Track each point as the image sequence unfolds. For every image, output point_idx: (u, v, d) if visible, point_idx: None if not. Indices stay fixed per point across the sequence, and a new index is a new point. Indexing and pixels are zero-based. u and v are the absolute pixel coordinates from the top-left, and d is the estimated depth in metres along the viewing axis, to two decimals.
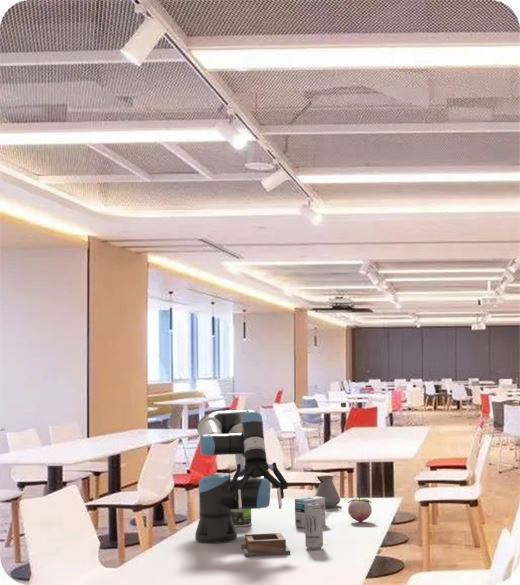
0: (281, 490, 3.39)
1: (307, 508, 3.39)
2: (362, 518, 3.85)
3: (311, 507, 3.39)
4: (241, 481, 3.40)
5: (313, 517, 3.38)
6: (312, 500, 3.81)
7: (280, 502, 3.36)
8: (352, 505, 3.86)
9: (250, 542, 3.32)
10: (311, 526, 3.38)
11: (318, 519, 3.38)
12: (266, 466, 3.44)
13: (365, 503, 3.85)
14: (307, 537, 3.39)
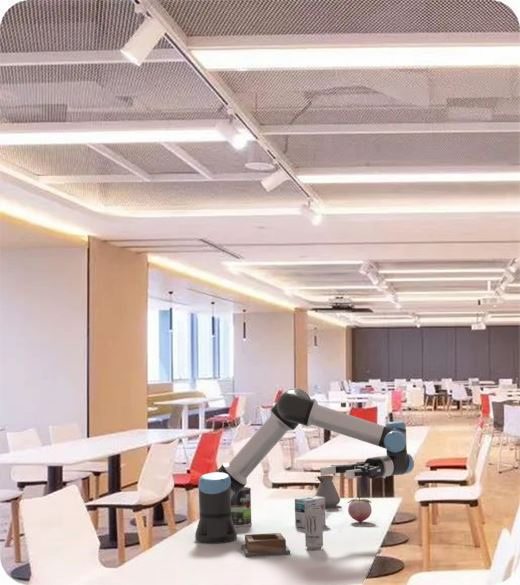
0: None
1: (307, 508, 3.39)
2: (362, 518, 3.85)
3: (311, 507, 3.39)
4: None
5: (313, 517, 3.38)
6: (312, 500, 3.81)
7: None
8: (352, 505, 3.86)
9: (250, 542, 3.32)
10: (311, 526, 3.38)
11: (318, 519, 3.38)
12: None
13: (365, 503, 3.85)
14: (307, 537, 3.39)
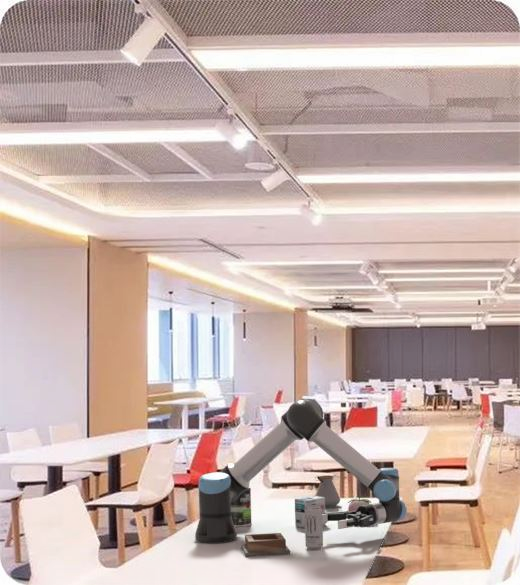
0: None
1: (307, 508, 3.39)
2: None
3: (311, 507, 3.39)
4: None
5: (313, 517, 3.38)
6: (312, 500, 3.81)
7: None
8: (352, 505, 3.86)
9: (250, 542, 3.32)
10: (311, 526, 3.38)
11: (318, 519, 3.38)
12: None
13: (365, 503, 3.85)
14: (307, 537, 3.39)
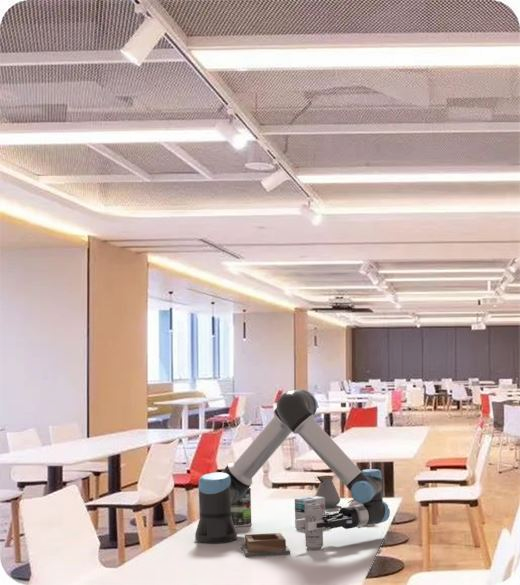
0: None
1: (307, 508, 3.39)
2: None
3: (311, 507, 3.39)
4: None
5: (313, 517, 3.38)
6: (312, 500, 3.81)
7: (298, 527, 3.41)
8: (352, 505, 3.86)
9: (250, 542, 3.32)
10: None
11: (318, 519, 3.38)
12: None
13: None
14: (307, 537, 3.39)
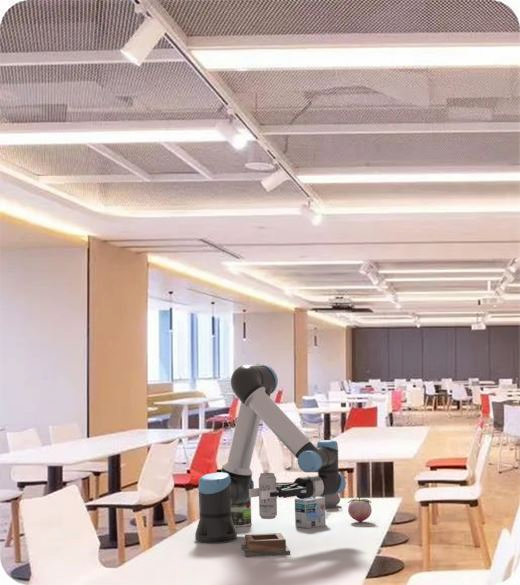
0: None
1: (261, 477, 3.38)
2: (362, 518, 3.85)
3: (265, 476, 3.37)
4: None
5: (267, 486, 3.36)
6: (312, 500, 3.81)
7: (252, 496, 3.39)
8: (352, 505, 3.86)
9: (250, 542, 3.32)
10: None
11: (272, 488, 3.37)
12: None
13: (365, 503, 3.85)
14: (260, 506, 3.37)
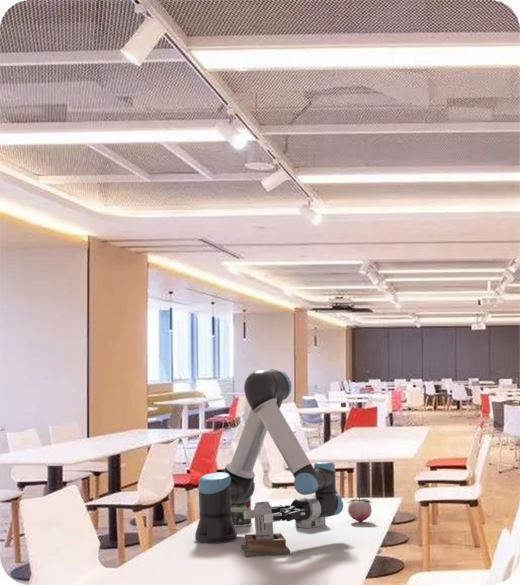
0: None
1: (256, 507, 3.37)
2: (362, 518, 3.85)
3: (260, 506, 3.37)
4: None
5: (262, 516, 3.36)
6: None
7: (247, 518, 3.41)
8: (352, 505, 3.86)
9: (250, 542, 3.32)
10: (260, 525, 3.36)
11: None
12: None
13: (365, 503, 3.85)
14: (257, 536, 3.37)
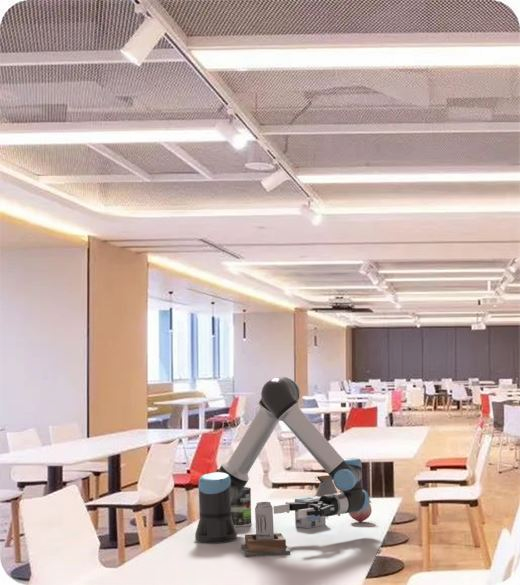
0: None
1: (257, 507, 3.38)
2: (362, 518, 3.85)
3: (261, 505, 3.37)
4: None
5: (263, 516, 3.36)
6: (312, 500, 3.81)
7: (276, 513, 3.51)
8: None
9: (250, 542, 3.32)
10: (261, 524, 3.36)
11: (268, 517, 3.37)
12: None
13: None
14: (257, 536, 3.37)
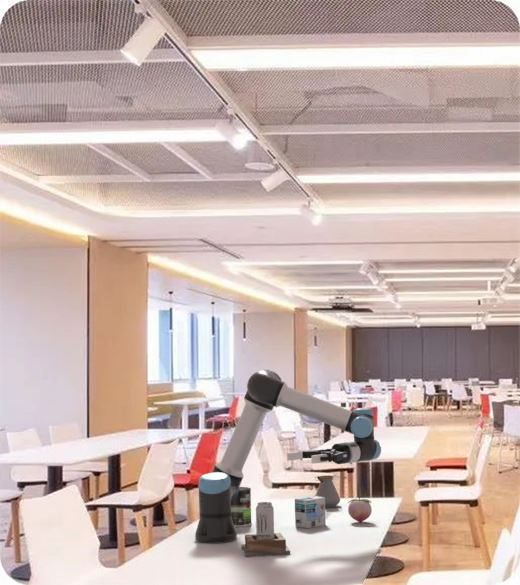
0: None
1: (258, 507, 3.37)
2: (362, 518, 3.85)
3: (262, 506, 3.37)
4: None
5: (264, 516, 3.36)
6: (312, 500, 3.81)
7: None
8: (352, 505, 3.86)
9: (250, 542, 3.32)
10: (262, 525, 3.36)
11: (269, 518, 3.36)
12: None
13: (365, 503, 3.85)
14: (257, 536, 3.37)
